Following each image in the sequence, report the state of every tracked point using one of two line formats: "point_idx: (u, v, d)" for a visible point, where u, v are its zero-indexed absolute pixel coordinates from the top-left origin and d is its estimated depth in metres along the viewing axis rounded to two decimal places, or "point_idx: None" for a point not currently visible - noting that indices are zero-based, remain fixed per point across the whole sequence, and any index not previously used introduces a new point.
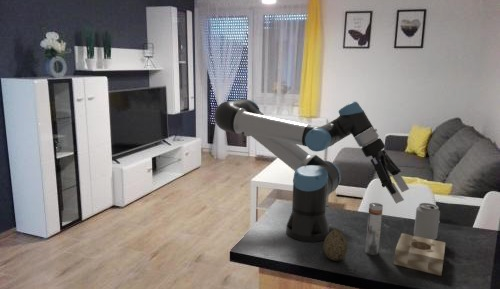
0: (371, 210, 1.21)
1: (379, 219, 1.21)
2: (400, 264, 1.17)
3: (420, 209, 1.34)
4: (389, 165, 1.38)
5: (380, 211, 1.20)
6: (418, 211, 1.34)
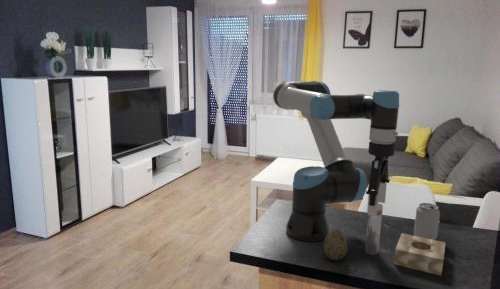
0: None
1: (379, 219, 1.21)
2: (400, 264, 1.17)
3: (420, 209, 1.34)
4: (383, 172, 1.23)
5: (380, 211, 1.20)
6: (418, 211, 1.34)
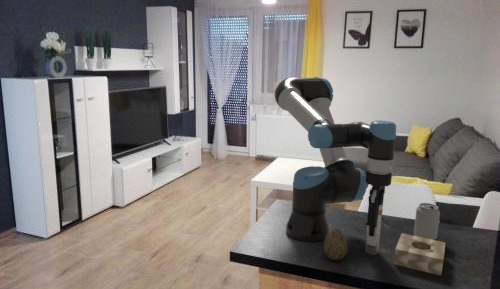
0: None
1: (379, 219, 1.21)
2: (400, 264, 1.17)
3: (420, 209, 1.34)
4: None
5: (380, 211, 1.20)
6: (418, 211, 1.34)
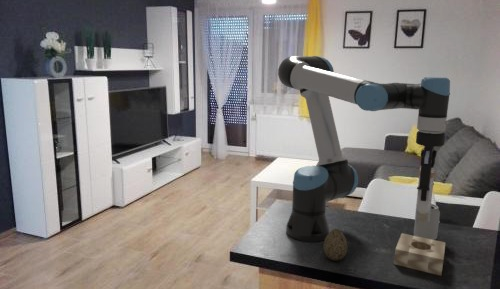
0: None
1: (431, 183, 1.13)
2: (400, 264, 1.17)
3: None
4: None
5: (432, 174, 1.13)
6: None
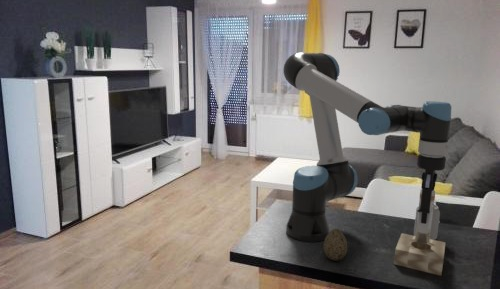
0: None
1: (432, 205, 1.15)
2: (400, 264, 1.17)
3: None
4: None
5: (433, 197, 1.14)
6: None
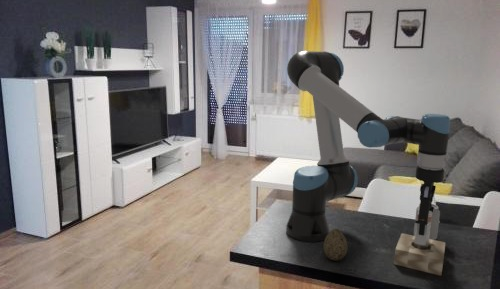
0: None
1: (429, 226, 1.16)
2: (400, 264, 1.17)
3: None
4: None
5: (430, 218, 1.16)
6: None
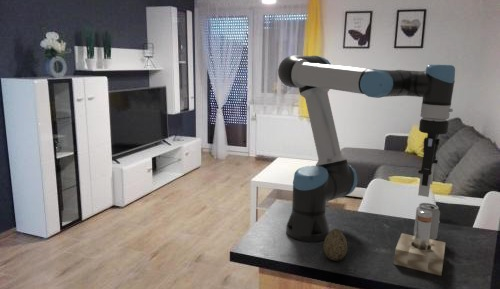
0: (421, 217, 1.16)
1: (429, 227, 1.16)
2: (400, 264, 1.17)
3: (420, 209, 1.34)
4: None
5: (430, 218, 1.15)
6: None
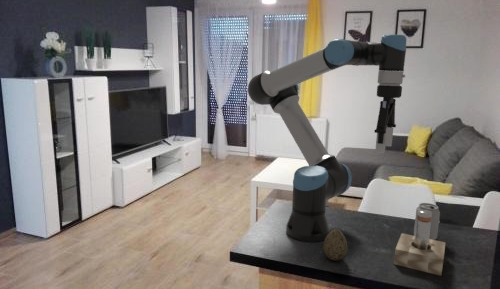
0: (420, 217, 1.16)
1: (428, 227, 1.16)
2: (400, 264, 1.17)
3: (420, 209, 1.34)
4: (390, 116, 1.30)
5: (430, 218, 1.16)
6: None
